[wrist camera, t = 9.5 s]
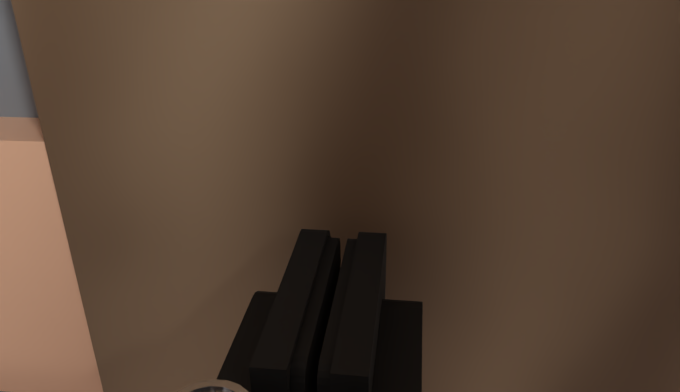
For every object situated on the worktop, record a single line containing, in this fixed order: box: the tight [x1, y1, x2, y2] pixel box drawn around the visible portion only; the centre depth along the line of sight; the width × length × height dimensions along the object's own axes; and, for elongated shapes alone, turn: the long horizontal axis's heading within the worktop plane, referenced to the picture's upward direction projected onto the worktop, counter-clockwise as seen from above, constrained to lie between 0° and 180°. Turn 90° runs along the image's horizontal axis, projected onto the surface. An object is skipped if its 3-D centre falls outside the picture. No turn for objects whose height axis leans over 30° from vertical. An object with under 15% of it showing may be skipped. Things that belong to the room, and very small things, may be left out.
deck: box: [11, 0, 680, 392], centre depth 14 cm, size 14×16×2 cm
